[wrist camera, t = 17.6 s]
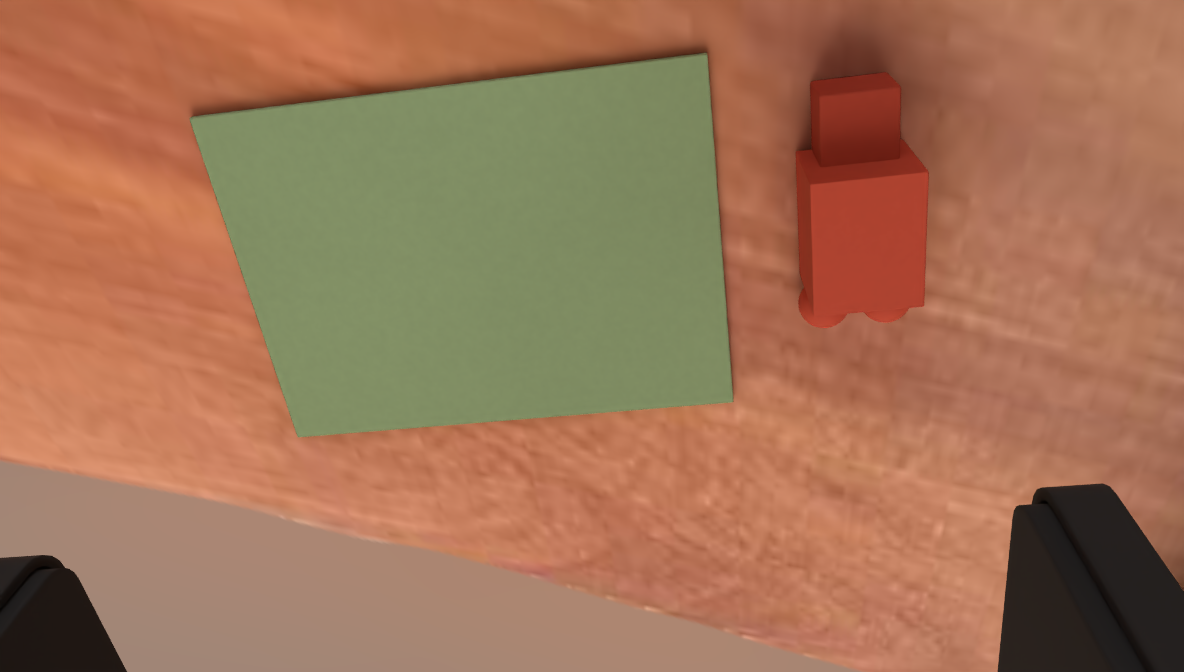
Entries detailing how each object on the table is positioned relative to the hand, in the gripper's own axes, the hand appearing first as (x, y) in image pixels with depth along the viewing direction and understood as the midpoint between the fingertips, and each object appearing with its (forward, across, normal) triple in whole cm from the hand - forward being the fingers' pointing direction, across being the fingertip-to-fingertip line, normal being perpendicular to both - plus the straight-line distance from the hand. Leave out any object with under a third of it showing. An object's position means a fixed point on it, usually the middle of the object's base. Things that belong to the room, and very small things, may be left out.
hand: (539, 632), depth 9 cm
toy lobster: (+28, -8, +7) cm, 30 cm away
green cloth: (+28, +7, +8) cm, 30 cm away
